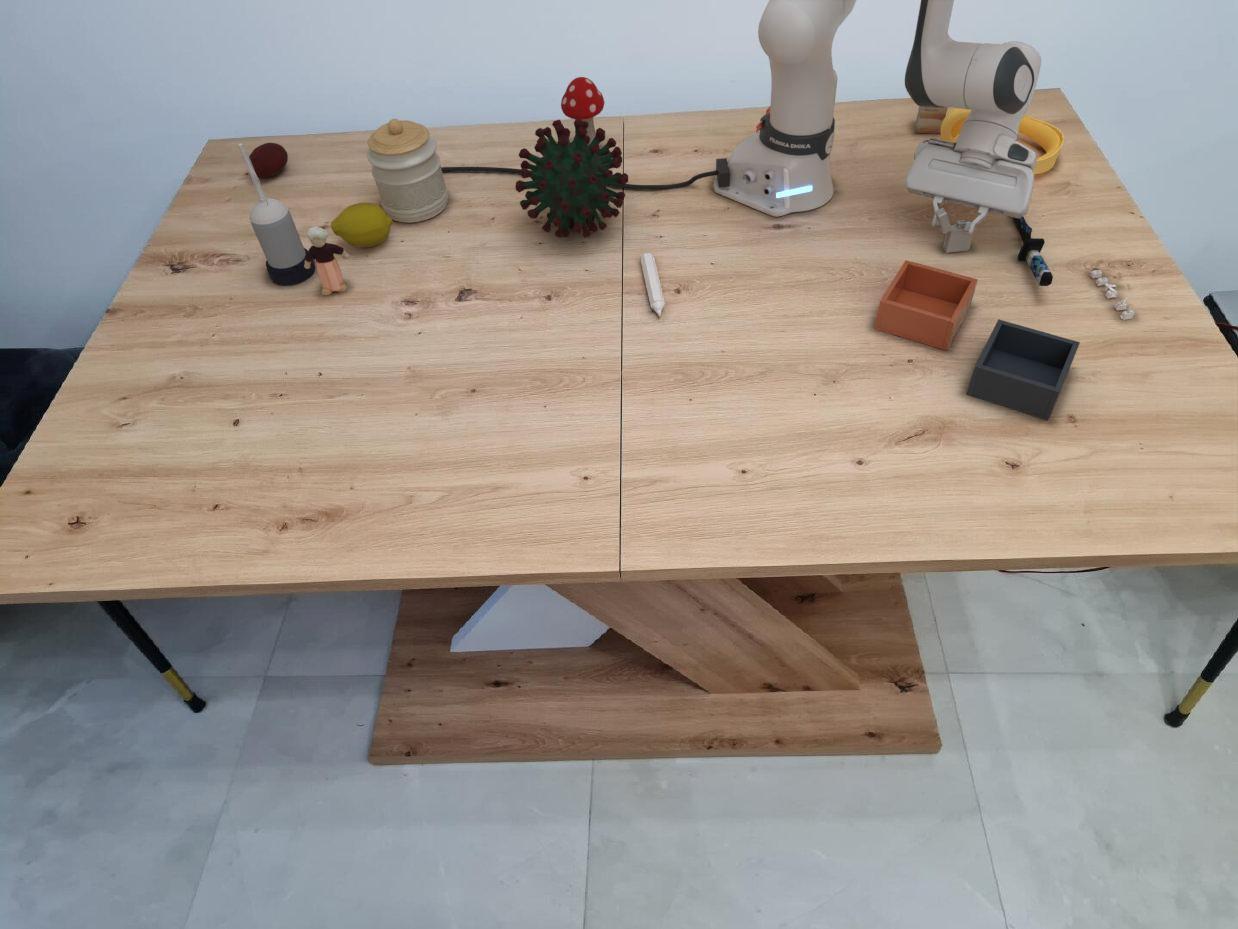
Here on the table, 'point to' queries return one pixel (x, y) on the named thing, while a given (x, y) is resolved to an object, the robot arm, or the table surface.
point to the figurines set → (1113, 295)
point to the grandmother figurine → (325, 261)
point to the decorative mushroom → (583, 102)
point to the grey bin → (1022, 369)
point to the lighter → (953, 233)
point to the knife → (1033, 253)
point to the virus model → (572, 179)
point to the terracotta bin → (925, 304)
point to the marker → (652, 283)
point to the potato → (268, 159)
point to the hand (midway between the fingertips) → (951, 230)
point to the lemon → (362, 225)
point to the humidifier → (277, 236)
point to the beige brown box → (930, 119)
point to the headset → (1028, 126)
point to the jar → (407, 171)
